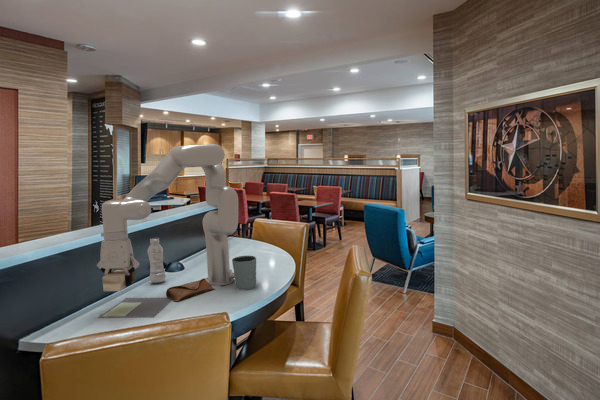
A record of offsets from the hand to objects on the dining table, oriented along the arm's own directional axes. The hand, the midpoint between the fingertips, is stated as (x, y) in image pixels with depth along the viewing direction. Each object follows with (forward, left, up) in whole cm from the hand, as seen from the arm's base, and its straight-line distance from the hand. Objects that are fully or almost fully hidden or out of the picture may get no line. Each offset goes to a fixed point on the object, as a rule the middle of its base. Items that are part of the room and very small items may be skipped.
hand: (119, 284), depth 127 cm
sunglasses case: (-20, -15, -10) cm, 27 cm away
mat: (-5, -2, -10) cm, 11 cm away
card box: (0, 0, -1) cm, 1 cm away
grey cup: (-40, -24, -10) cm, 48 cm away
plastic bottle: (+1, -30, -10) cm, 32 cm away
